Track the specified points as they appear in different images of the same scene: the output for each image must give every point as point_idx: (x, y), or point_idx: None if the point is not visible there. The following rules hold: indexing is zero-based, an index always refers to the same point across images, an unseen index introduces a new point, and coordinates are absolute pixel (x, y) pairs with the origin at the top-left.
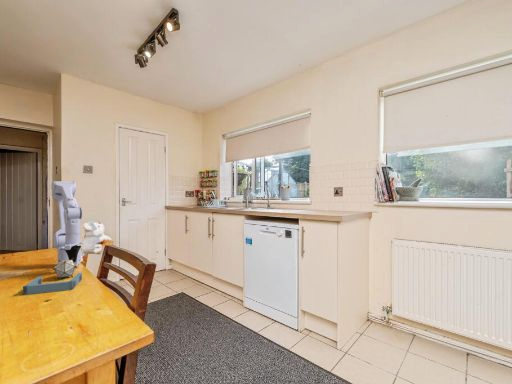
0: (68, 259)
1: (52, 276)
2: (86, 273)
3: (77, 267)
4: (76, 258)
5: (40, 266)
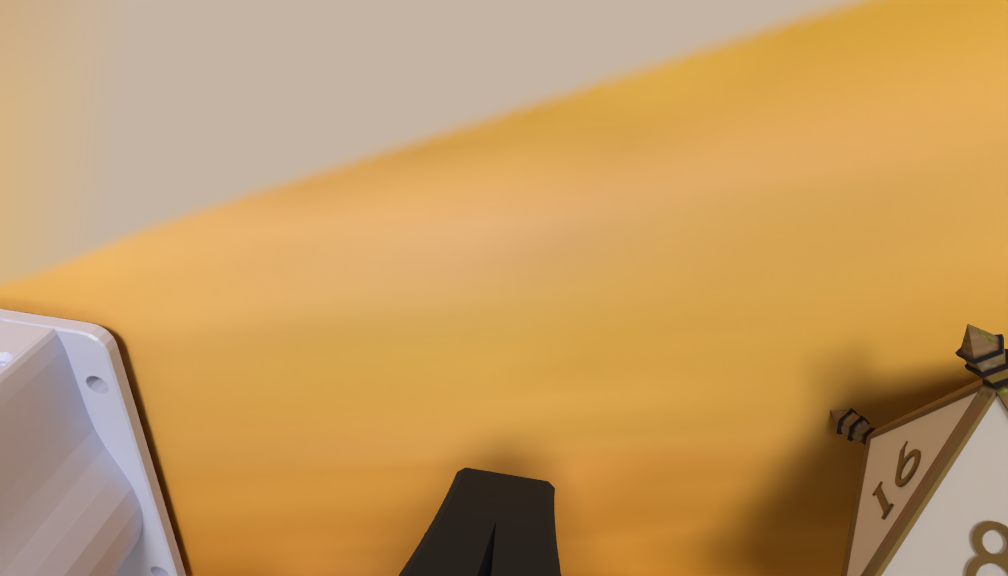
0: (16, 555)
1: (715, 569)
2: (967, 13)
3: (1000, 345)
4: (468, 545)
5: None
